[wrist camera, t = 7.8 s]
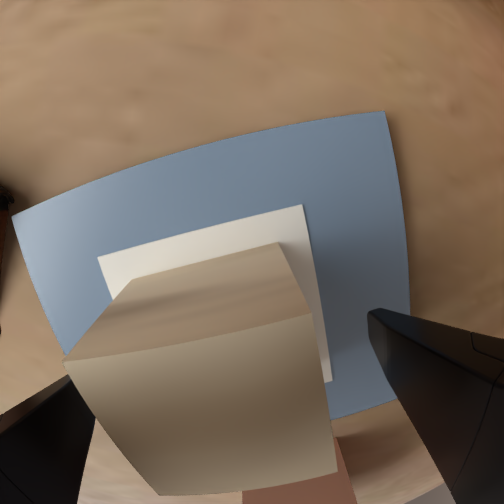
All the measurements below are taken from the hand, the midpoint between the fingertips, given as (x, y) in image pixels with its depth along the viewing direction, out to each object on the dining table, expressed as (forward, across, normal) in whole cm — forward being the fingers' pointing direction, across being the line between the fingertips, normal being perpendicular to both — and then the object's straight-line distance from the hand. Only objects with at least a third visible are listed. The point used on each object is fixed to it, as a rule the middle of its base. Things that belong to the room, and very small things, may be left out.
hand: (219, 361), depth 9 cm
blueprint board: (+3, 0, 0) cm, 3 cm away
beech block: (+2, 0, 0) cm, 2 cm away
